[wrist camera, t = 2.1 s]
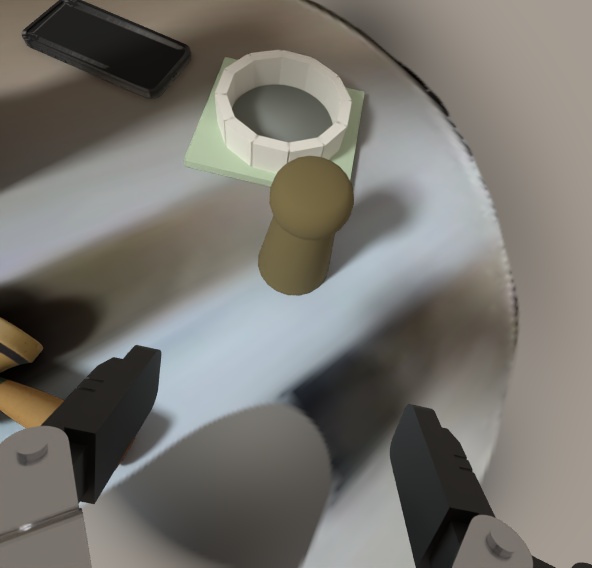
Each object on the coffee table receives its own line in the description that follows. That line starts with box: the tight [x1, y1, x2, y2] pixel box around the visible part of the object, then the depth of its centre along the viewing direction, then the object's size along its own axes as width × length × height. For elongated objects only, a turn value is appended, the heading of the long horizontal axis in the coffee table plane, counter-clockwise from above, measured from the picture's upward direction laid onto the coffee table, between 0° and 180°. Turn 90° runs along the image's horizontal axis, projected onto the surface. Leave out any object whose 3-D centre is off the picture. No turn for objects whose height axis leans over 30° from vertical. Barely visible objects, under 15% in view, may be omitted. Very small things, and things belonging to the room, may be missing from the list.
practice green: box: [184, 50, 365, 187], centre depth 35 cm, size 15×14×4 cm
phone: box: [22, 0, 191, 98], centre depth 38 cm, size 8×1×15 cm
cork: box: [258, 156, 354, 295], centre depth 26 cm, size 6×6×11 cm
